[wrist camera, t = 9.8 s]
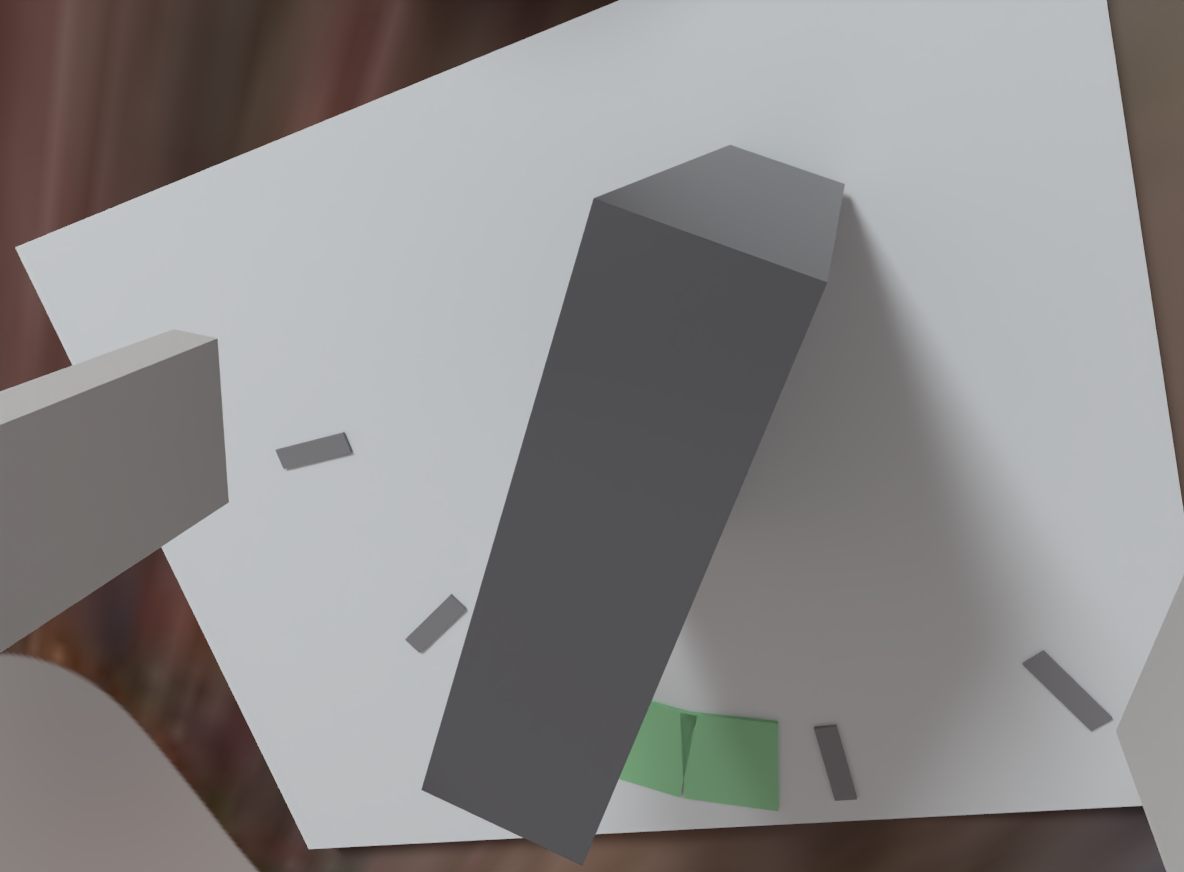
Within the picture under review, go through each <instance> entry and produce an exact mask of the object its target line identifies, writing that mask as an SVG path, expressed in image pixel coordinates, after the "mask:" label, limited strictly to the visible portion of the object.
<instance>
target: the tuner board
mask: <svg viewBox="0 0 1184 872" xmlns="http://www.w3.org/2000/svg"><path fill="white" fill-rule="evenodd" d="M728 145H732V146H735V147H738V148H741V149H744V150H747V151H750V152H753V153H756V154H759V155H761V156H764V157H767V158H770V159H773V160H776V161H779V162H782V163H785V164H788V165H791V166H794V167H796V168H799V169H802V170H805V171H808V172H811V173H814V174H817V175H820V176H823V177H826V178H829V179H831V180H834V181H837V182H840V183H843V184H845V186H844V192H843V198H842V203H841V209H840V214H839V220H838V226H837V231H836V237H835V243H834V248H833V254H832V259H831V265H830V271H829V276H828V282H827V285H826V287H825V289H824V292H823V294H822V296H821V299H820V301H819V304H818V306H817V308H816V311H815V313H814V315H813V318H812V320H811V323H810V325H809V327H808V330H807V332H806V335H805V337H804V339H803V342H802V344H801V346H800V349H799V351H798V354H797V356H796V358H795V361H794V363H793V365H792V368H791V370H790V373H789V375H788V377H787V380H786V382H785V385H784V387H783V389H782V392H781V394H780V396H779V399H778V401H777V404H776V406H775V408H774V411H773V413H772V416H771V418H770V420H769V423H768V425H767V427H766V430H765V432H764V435H763V437H762V439H761V442H760V444H759V446H758V449H757V451H756V454H755V456H754V458H753V461H752V463H751V466H750V468H749V470H748V473H747V475H746V477H745V480H744V482H743V485H742V487H741V489H740V492H739V494H738V496H737V499H736V501H735V504H734V506H733V508H732V511H731V513H730V516H729V518H728V520H727V523H726V525H725V527H724V530H723V532H722V535H721V537H720V539H719V542H718V544H717V546H716V549H715V551H714V554H713V556H712V558H711V561H710V563H709V566H708V568H707V570H706V573H705V575H704V577H703V580H702V582H701V585H700V587H699V589H698V592H697V594H696V596H695V599H694V601H693V604H692V606H691V608H690V611H689V613H688V616H687V618H686V620H685V623H684V625H683V627H682V630H681V632H680V635H679V637H678V639H677V642H676V644H675V646H674V649H673V651H672V654H671V656H670V658H669V661H668V663H667V666H666V668H665V670H664V673H663V675H662V677H661V680H660V682H659V685H658V687H657V689H656V692H655V694H654V696H653V699H652V701H651V704H650V706H649V708H648V711H647V713H646V716H645V718H644V720H643V723H642V725H641V727H640V730H639V732H638V735H637V737H636V739H635V742H634V744H633V746H632V749H631V751H630V754H629V756H628V758H627V761H626V763H625V766H624V768H623V770H622V773H621V775H620V777H619V780H618V782H617V785H616V787H615V789H614V792H613V794H612V796H611V799H610V801H609V804H608V806H607V808H606V811H605V813H604V816H603V818H602V820H601V823H600V825H599V827H598V830H597V832H596V834H610V833H629V832H648V831H668V830H687V829H706V828H725V827H745V826H764V825H783V824H802V823H822V822H841V821H860V820H879V819H898V818H918V817H937V816H956V815H975V814H995V813H1014V812H1033V811H1052V810H1072V809H1091V808H1110V807H1129V806H1143V805H1142V803H1141V800H1140V797H1139V794H1138V791H1137V789H1136V786H1135V783H1134V780H1133V778H1132V775H1131V772H1130V769H1129V766H1128V764H1127V761H1126V758H1125V755H1124V753H1123V750H1122V747H1121V744H1120V742H1119V739H1118V736H1117V733H1116V730H1117V727H1118V725H1119V723H1120V720H1121V718H1122V716H1123V713H1124V711H1125V709H1126V707H1127V704H1128V702H1129V700H1130V697H1131V695H1132V693H1133V690H1134V688H1135V686H1136V684H1137V681H1138V679H1139V677H1140V674H1141V672H1142V670H1143V667H1144V665H1145V663H1146V661H1147V658H1148V656H1149V654H1150V651H1151V649H1152V647H1153V644H1154V642H1155V640H1156V637H1157V635H1158V633H1159V631H1160V628H1161V626H1162V624H1163V621H1164V619H1165V617H1166V614H1167V612H1168V610H1169V608H1170V605H1171V603H1172V601H1173V598H1174V596H1175V594H1176V591H1177V589H1178V587H1179V585H1180V582H1181V580H1182V578H1183V575H1184V511H1183V504H1182V498H1181V491H1180V484H1179V478H1178V471H1177V464H1176V458H1175V451H1174V445H1173V438H1172V431H1171V425H1170V418H1169V411H1168V405H1167V398H1166V391H1165V385H1164V378H1163V372H1162V365H1161V358H1160V352H1159V345H1158V338H1157V332H1156V325H1155V318H1154V312H1153V305H1152V299H1151V292H1150V285H1149V279H1148V272H1147V265H1146V259H1145V252H1144V246H1143V239H1142V232H1141V226H1140V219H1139V212H1138V206H1137V199H1136V192H1135V186H1134V179H1133V173H1132V166H1131V159H1130V153H1129V146H1128V139H1127V133H1126V126H1125V119H1124V113H1123V106H1122V100H1121V93H1120V86H1119V80H1118V73H1117V66H1116V60H1115V53H1114V46H1113V40H1112V33H1111V27H1110V20H1109V13H1108V7H1107V0H619V1H616V2H614V3H611V4H609V5H606V6H604V7H602V8H599V9H597V10H594V11H592V12H589V13H587V14H584V15H582V16H580V17H577V18H575V19H572V20H570V21H567V22H565V23H562V24H560V25H558V26H555V27H553V28H550V29H548V30H545V31H543V32H540V33H538V34H536V35H533V36H531V37H528V38H526V39H523V40H521V41H518V42H516V43H514V44H511V45H509V46H506V47H504V48H501V49H499V50H496V51H494V52H492V53H489V54H487V55H484V56H482V57H479V58H477V59H474V60H472V61H470V62H467V63H465V64H462V65H460V66H457V67H455V68H452V69H450V70H448V71H445V72H443V73H440V74H438V75H435V76H433V77H430V78H428V79H426V80H423V81H421V82H418V83H416V84H413V85H411V86H408V87H406V88H404V89H401V90H399V91H396V92H394V93H391V94H389V95H386V96H384V97H382V98H379V99H377V100H374V101H372V102H369V103H367V104H364V105H362V106H360V107H357V108H355V109H352V110H350V111H347V112H345V113H342V114H340V115H338V116H335V117H333V118H330V119H328V120H325V121H323V122H320V123H318V124H316V125H313V126H311V127H308V128H306V129H303V130H301V131H298V132H296V133H294V134H291V135H289V136H286V137H284V138H281V139H279V140H276V141H274V142H272V143H269V144H267V145H264V146H262V147H259V148H257V149H254V150H252V151H250V152H247V153H245V154H242V155H240V156H237V157H235V158H232V159H230V160H228V161H225V162H223V163H220V164H218V165H215V166H213V167H211V168H208V169H206V170H203V171H201V172H198V173H196V174H193V175H191V176H189V177H186V178H184V179H181V180H179V181H176V182H174V183H171V184H169V185H167V186H164V187H162V188H159V189H157V190H154V191H152V192H149V193H147V194H145V195H142V196H140V197H137V198H135V199H132V200H130V201H127V202H125V203H123V204H120V205H118V206H115V207H113V208H110V209H108V210H105V211H103V212H101V213H98V214H96V215H93V216H91V217H88V218H86V219H83V220H81V221H79V222H76V223H74V224H71V225H69V226H66V227H64V228H61V229H59V230H57V231H54V232H52V233H49V234H47V235H44V236H42V237H39V238H37V239H35V240H32V241H30V242H27V243H25V244H22V245H20V246H17V247H15V248H16V250H17V252H18V255H19V257H20V259H21V261H22V263H23V265H24V267H25V269H26V271H27V273H28V275H29V277H30V279H31V281H32V283H33V285H34V287H35V289H36V291H37V293H38V295H39V298H40V300H41V302H42V304H43V306H44V308H45V310H46V312H47V314H48V316H49V318H50V320H51V322H52V324H53V326H54V328H55V330H56V332H57V334H58V336H59V338H60V341H61V343H62V345H63V347H64V349H65V351H66V353H67V355H68V357H69V359H70V361H71V363H72V365H75V364H78V363H81V362H84V361H87V360H89V359H92V358H95V357H98V356H100V355H103V354H106V353H109V352H111V351H114V350H117V349H120V348H123V347H125V346H128V345H131V344H134V343H136V342H139V341H142V340H145V339H148V338H150V337H153V336H156V335H159V334H161V333H164V332H167V331H170V330H173V329H176V330H180V331H185V332H190V333H195V334H199V335H204V336H209V337H213V338H218V352H219V366H220V381H221V396H222V410H223V425H224V439H225V454H226V469H227V483H228V498H229V503H227V504H226V505H224V506H223V507H221V508H220V509H218V510H217V511H215V512H213V513H212V514H210V515H209V516H207V517H206V518H204V519H203V520H201V521H200V522H198V523H197V524H195V525H194V526H192V527H191V528H189V529H188V530H186V531H185V532H183V533H182V534H180V535H179V536H177V537H175V538H174V539H172V540H171V541H169V542H168V543H166V544H165V545H163V546H162V549H163V552H164V554H165V556H166V558H167V560H168V562H169V564H170V566H171V568H172V570H173V572H174V574H175V576H176V578H177V580H178V582H179V584H180V586H181V588H182V590H183V592H184V595H185V597H186V599H187V601H188V603H189V605H190V607H191V609H192V611H193V613H194V615H195V617H196V619H197V621H198V623H199V625H200V627H201V629H202V631H203V633H204V635H205V638H206V640H207V642H208V644H209V646H210V648H211V650H212V652H213V654H214V656H215V658H216V660H217V662H218V664H219V666H220V668H221V670H222V672H223V674H224V676H225V679H226V681H227V683H228V685H229V687H230V689H231V691H232V693H233V695H234V697H235V699H236V701H237V703H238V705H239V707H240V709H241V711H242V713H243V715H244V717H245V719H246V722H247V724H248V726H249V728H250V730H251V732H252V734H253V736H254V738H255V740H256V742H257V744H258V746H259V748H260V750H261V752H262V754H263V756H264V758H265V760H266V762H267V765H268V767H269V769H270V771H271V773H272V775H273V777H274V779H275V781H276V783H277V785H278V787H279V789H280V791H281V793H282V795H283V797H284V799H285V801H286V803H287V805H288V808H289V810H290V812H291V814H292V816H293V818H294V820H295V822H296V824H297V826H298V828H299V830H300V832H301V834H302V836H303V838H304V840H305V842H306V844H307V846H308V849H322V848H341V847H360V846H379V845H398V844H418V843H437V842H456V841H475V840H495V839H514V838H522V837H520V836H518V835H516V834H514V833H512V832H510V831H508V830H505V829H503V828H501V827H499V826H497V825H495V824H493V823H491V822H488V821H486V820H484V819H482V818H480V817H478V816H476V815H474V814H471V813H469V812H467V811H465V810H463V809H461V808H459V807H457V806H454V805H452V804H450V803H448V802H446V801H444V800H442V799H440V798H437V797H435V796H433V795H431V794H429V793H427V792H425V791H423V790H421V789H422V786H423V782H424V779H425V776H426V772H427V769H428V765H429V762H430V758H431V755H432V752H433V748H434V745H435V741H436V738H437V734H438V731H439V727H440V724H441V721H442V717H443V714H444V710H445V707H446V703H447V700H448V697H449V693H450V690H451V686H452V683H453V679H454V676H455V673H456V669H457V666H458V662H459V659H460V655H461V652H462V648H463V645H464V642H465V638H466V635H467V631H468V628H469V624H470V621H471V618H472V614H473V611H474V607H475V604H476V600H477V597H478V594H479V590H480V587H481V583H482V580H483V576H484V573H485V569H486V566H487V563H488V559H489V556H490V552H491V549H492V545H493V542H494V539H495V535H496V532H497V528H498V525H499V521H500V518H501V515H502V511H503V508H504V504H505V501H506V497H507V494H508V490H509V487H510V484H511V480H512V477H513V473H514V470H515V466H516V463H517V460H518V456H519V453H520V449H521V446H522V442H523V439H524V435H525V432H526V429H527V425H528V422H529V418H530V415H531V411H532V408H533V405H534V401H535V398H536V394H537V391H538V387H539V384H540V381H541V377H542V374H543V370H544V367H545V363H546V360H547V356H548V353H549V350H550V346H551V343H552V339H553V336H554V332H555V329H556V326H557V322H558V319H559V315H560V312H561V308H562V305H563V302H564V298H565V295H566V291H567V288H568V284H569V281H570V277H571V274H572V271H573V267H574V264H575V260H576V257H577V253H578V250H579V247H580V243H581V240H582V236H583V233H584V229H585V226H586V222H587V219H588V216H589V212H590V209H591V205H592V202H593V198H596V197H598V196H601V195H603V194H606V193H608V192H611V191H613V190H616V189H618V188H621V187H624V186H626V185H629V184H631V183H634V182H636V181H639V180H641V179H644V178H646V177H649V176H652V175H654V174H657V173H659V172H662V171H664V170H667V169H669V168H672V167H675V166H677V165H680V164H682V163H685V162H687V161H690V160H692V159H695V158H697V157H700V156H703V155H705V154H708V153H710V152H713V151H715V150H718V149H720V148H723V147H725V146H728Z"/></svg>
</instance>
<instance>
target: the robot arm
mask: <svg viewBox="0 0 1184 872" xmlns="http://www.w3.org/2000/svg"><path fill="white" fill-rule="evenodd" d="M227 503H229V498H228V483H227V469H226V454H225V439H224V425H223V410H222V396H221V381H220V366H219V352H218V338H213V337H209V336H204V335H199V334H195V333H190V332H185V331H180V330H176V329H173V330H170V331H167V332H164V333H161V334H159V335H156V336H153V337H150V338H148V339H145V340H142V341H139V342H136V343H134V344H131V345H128V346H125V347H123V348H120V349H117V350H114V351H111V352H109V353H106V354H103V355H100V356H98V357H95V358H92V359H89V360H87V361H84V362H81V363H78V364H75V365H73V366H70V367H67V368H64V369H62V370H59V371H56V372H53V373H50V374H48V375H45V376H42V377H39V378H37V379H34V380H31V381H28V382H25V383H23V384H20V385H17V386H14V387H12V388H9V389H6V390H3V391H1V392H0V653H1V652H2V651H4V650H5V649H7V648H8V647H10V646H11V645H13V644H14V643H16V642H17V641H19V640H20V639H22V638H23V637H25V636H26V635H28V634H29V633H31V632H33V631H34V630H36V629H37V628H39V627H40V626H42V625H43V624H45V623H46V622H48V621H49V620H51V619H52V618H54V617H55V616H57V615H58V614H60V613H61V612H63V611H64V610H66V609H67V608H69V607H71V606H72V605H74V604H75V603H77V602H78V601H80V600H81V599H83V598H84V597H86V596H87V595H89V594H90V593H92V592H93V591H95V590H96V589H98V588H99V587H101V586H102V585H104V584H106V583H107V582H109V581H110V580H112V579H113V578H115V577H116V576H118V575H119V574H121V573H122V572H124V571H125V570H127V569H128V568H130V567H131V566H133V565H134V564H136V563H137V562H139V561H140V560H142V559H144V558H145V557H147V556H148V555H150V554H151V553H153V552H154V551H156V550H157V549H159V548H160V547H162V546H163V545H165V544H166V543H168V542H169V541H171V540H172V539H174V538H175V537H177V536H179V535H180V534H182V533H183V532H185V531H186V530H188V529H189V528H191V527H192V526H194V525H195V524H197V523H198V522H200V521H201V520H203V519H204V518H206V517H207V516H209V515H210V514H212V513H213V512H215V511H217V510H218V509H220V508H221V507H223V506H224V505H226V504H227ZM1116 733H1117V736H1118V739H1119V742H1120V744H1121V747H1122V750H1123V753H1124V755H1125V758H1126V761H1127V764H1128V766H1129V769H1130V772H1131V775H1132V778H1133V780H1134V783H1135V786H1136V789H1137V791H1138V794H1139V797H1140V800H1141V803H1142V805H1143V808H1144V811H1145V814H1146V816H1147V819H1148V822H1149V825H1150V827H1151V830H1152V833H1153V836H1154V839H1155V841H1156V844H1157V847H1158V850H1159V852H1160V855H1161V858H1162V861H1163V863H1164V866H1165V869H1166V872H1184V575H1183V578H1182V580H1181V582H1180V585H1179V587H1178V589H1177V591H1176V594H1175V596H1174V598H1173V601H1172V603H1171V605H1170V608H1169V610H1168V612H1167V614H1166V617H1165V619H1164V621H1163V624H1162V626H1161V628H1160V631H1159V633H1158V635H1157V637H1156V640H1155V642H1154V644H1153V647H1152V649H1151V651H1150V654H1149V656H1148V658H1147V661H1146V663H1145V665H1144V667H1143V670H1142V672H1141V674H1140V677H1139V679H1138V681H1137V684H1136V686H1135V688H1134V690H1133V693H1132V695H1131V697H1130V700H1129V702H1128V704H1127V707H1126V709H1125V711H1124V713H1123V716H1122V718H1121V720H1120V723H1119V725H1118V727H1117V730H1116Z"/></svg>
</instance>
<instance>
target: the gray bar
mask: <svg viewBox="0 0 1184 872" xmlns="http://www.w3.org/2000/svg"><path fill="white" fill-rule="evenodd" d="M844 186H845V184H843V183H840V182H837V181H834V180H831V179H829V178H826V177H823V176H820V175H817V174H814V173H811V172H808V171H805V170H802V169H799V168H796V167H794V166H791V165H788V164H785V163H782V162H779V161H776V160H773V159H770V158H767V157H764V156H761V155H759V154H756V153H753V152H750V151H747V150H744V149H741V148H738V147H735V146H732V145H728V146H725V147H723V148H720V149H718V150H715V151H713V152H710V153H708V154H705V155H703V156H700V157H697V158H695V159H692V160H690V161H687V162H685V163H682V164H680V165H677V166H675V167H672V168H669V169H667V170H664V171H662V172H659V173H657V174H654V175H652V176H649V177H646V178H644V179H641V180H639V181H636V182H634V183H631V184H629V185H626V186H624V187H621V188H618V189H616V190H613V191H611V192H608V193H606V194H603V195H601V196H598V197H596V198H593V202H592V205H591V209H590V212H589V216H588V219H587V222H586V226H585V229H584V233H583V236H582V240H581V243H580V247H579V250H578V253H577V257H576V260H575V264H574V267H573V271H572V274H571V277H570V281H569V284H568V288H567V291H566V295H565V298H564V302H563V305H562V308H561V312H560V315H559V319H558V322H557V326H556V329H555V332H554V336H553V339H552V343H551V346H550V350H549V353H548V356H547V360H546V363H545V367H544V370H543V374H542V377H541V381H540V384H539V387H538V391H537V394H536V398H535V401H534V405H533V408H532V411H531V415H530V418H529V422H528V425H527V429H526V432H525V435H524V439H523V442H522V446H521V449H520V453H519V456H518V460H517V463H516V466H515V470H514V473H513V477H512V480H511V484H510V487H509V490H508V494H507V497H506V501H505V504H504V508H503V511H502V515H501V518H500V521H499V525H498V528H497V532H496V535H495V539H494V542H493V545H492V549H491V552H490V556H489V559H488V563H487V566H486V569H485V573H484V576H483V580H482V583H481V587H480V590H479V594H478V597H477V600H476V604H475V607H474V611H473V614H472V618H471V621H470V624H469V628H468V631H467V635H466V638H465V642H464V645H463V648H462V652H461V655H460V659H459V662H458V666H457V669H456V673H455V676H454V679H453V683H452V686H451V690H450V693H449V697H448V700H447V703H446V707H445V710H444V714H443V717H442V721H441V724H440V727H439V731H438V734H437V738H436V741H435V745H434V748H433V752H432V755H431V758H430V762H429V765H428V769H427V772H426V776H425V779H424V782H423V786H422V789H421V790H423V791H425V792H427V793H429V794H431V795H433V796H435V797H437V798H440V799H442V800H444V801H446V802H448V803H450V804H452V805H454V806H457V807H459V808H461V809H463V810H465V811H467V812H469V813H471V814H474V815H476V816H478V817H480V818H482V819H484V820H486V821H488V822H491V823H493V824H495V825H497V826H499V827H501V828H503V829H505V830H508V831H510V832H512V833H514V834H516V835H518V836H520V837H522V838H525V839H527V840H529V841H531V842H533V843H535V844H537V845H539V846H542V847H544V848H546V849H548V850H550V851H552V852H554V853H556V854H558V855H561V856H563V857H565V858H567V859H569V860H571V861H573V862H575V863H578V864H580V865H582V866H583V863H584V861H585V858H586V856H587V854H588V851H589V849H590V846H591V844H592V842H593V839H594V837H595V835H596V832H597V830H598V827H599V825H600V823H601V820H602V818H603V816H604V813H605V811H606V808H607V806H608V804H609V801H610V799H611V796H612V794H613V792H614V789H615V787H616V785H617V782H618V780H619V777H620V775H621V773H622V770H623V768H624V766H625V763H626V761H627V758H628V756H629V754H630V751H631V749H632V746H633V744H634V742H635V739H636V737H637V735H638V732H639V730H640V727H641V725H642V723H643V720H644V718H645V716H646V713H647V711H648V708H649V706H650V704H651V701H652V699H653V696H654V694H655V692H656V689H657V687H658V685H659V682H660V680H661V677H662V675H663V673H664V670H665V668H666V666H667V663H668V661H669V658H670V656H671V654H672V651H673V649H674V646H675V644H676V642H677V639H678V637H679V635H680V632H681V630H682V627H683V625H684V623H685V620H686V618H687V616H688V613H689V611H690V608H691V606H692V604H693V601H694V599H695V596H696V594H697V592H698V589H699V587H700V585H701V582H702V580H703V577H704V575H705V573H706V570H707V568H708V566H709V563H710V561H711V558H712V556H713V554H714V551H715V549H716V546H717V544H718V542H719V539H720V537H721V535H722V532H723V530H724V527H725V525H726V523H727V520H728V518H729V516H730V513H731V511H732V508H733V506H734V504H735V501H736V499H737V496H738V494H739V492H740V489H741V487H742V485H743V482H744V480H745V477H746V475H747V473H748V470H749V468H750V466H751V463H752V461H753V458H754V456H755V454H756V451H757V449H758V446H759V444H760V442H761V439H762V437H763V435H764V432H765V430H766V427H767V425H768V423H769V420H770V418H771V416H772V413H773V411H774V408H775V406H776V404H777V401H778V399H779V396H780V394H781V392H782V389H783V387H784V385H785V382H786V380H787V377H788V375H789V373H790V370H791V368H792V365H793V363H794V361H795V358H796V356H797V354H798V351H799V349H800V346H801V344H802V342H803V339H804V337H805V335H806V332H807V330H808V327H809V325H810V323H811V320H812V318H813V315H814V313H815V311H816V308H817V306H818V304H819V301H820V299H821V296H822V294H823V292H824V289H825V287H826V285H827V282H828V276H829V271H830V265H831V259H832V254H833V248H834V243H835V237H836V231H837V226H838V220H839V214H840V209H841V203H842V198H843V192H844Z"/></svg>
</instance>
